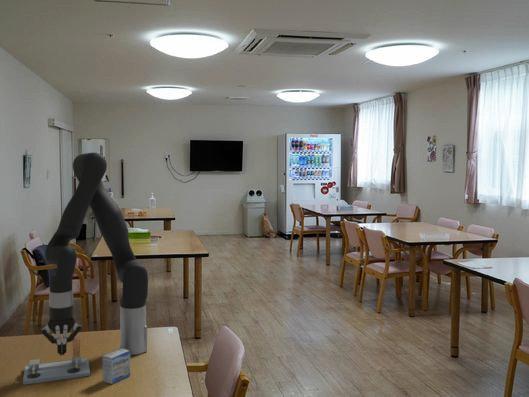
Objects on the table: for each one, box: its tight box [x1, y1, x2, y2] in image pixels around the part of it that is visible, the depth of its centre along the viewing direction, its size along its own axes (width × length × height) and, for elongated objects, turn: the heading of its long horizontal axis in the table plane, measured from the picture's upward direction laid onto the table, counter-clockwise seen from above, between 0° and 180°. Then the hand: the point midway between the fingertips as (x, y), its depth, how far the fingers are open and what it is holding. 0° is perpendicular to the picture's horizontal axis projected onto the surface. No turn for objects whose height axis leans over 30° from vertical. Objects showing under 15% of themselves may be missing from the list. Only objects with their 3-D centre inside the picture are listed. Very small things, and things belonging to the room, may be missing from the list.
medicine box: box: [101, 348, 131, 385], centre depth 166 cm, size 8×4×9 cm, turn 148°
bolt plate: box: [22, 358, 91, 386], centre depth 170 cm, size 20×12×2 cm, turn 111°
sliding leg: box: [71, 336, 82, 370], centre depth 172 cm, size 3×7×9 cm, turn 21°
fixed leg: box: [28, 358, 41, 376], centre depth 167 cm, size 3×7×2 cm, turn 21°
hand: (61, 354), depth 172 cm, fingers closed
